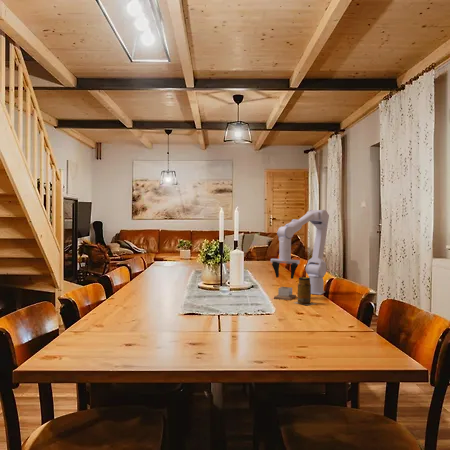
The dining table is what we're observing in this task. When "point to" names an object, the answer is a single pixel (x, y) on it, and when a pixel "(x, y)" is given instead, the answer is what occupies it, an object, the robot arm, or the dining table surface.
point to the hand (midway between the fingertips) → (284, 277)
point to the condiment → (304, 291)
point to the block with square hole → (285, 291)
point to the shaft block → (285, 297)
